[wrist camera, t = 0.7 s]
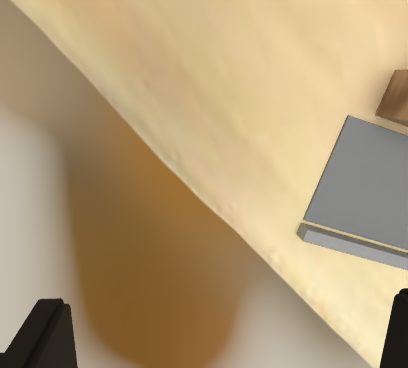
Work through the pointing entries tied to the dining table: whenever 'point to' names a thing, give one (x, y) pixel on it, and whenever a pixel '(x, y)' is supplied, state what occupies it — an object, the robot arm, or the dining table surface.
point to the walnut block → (395, 99)
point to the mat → (363, 195)
